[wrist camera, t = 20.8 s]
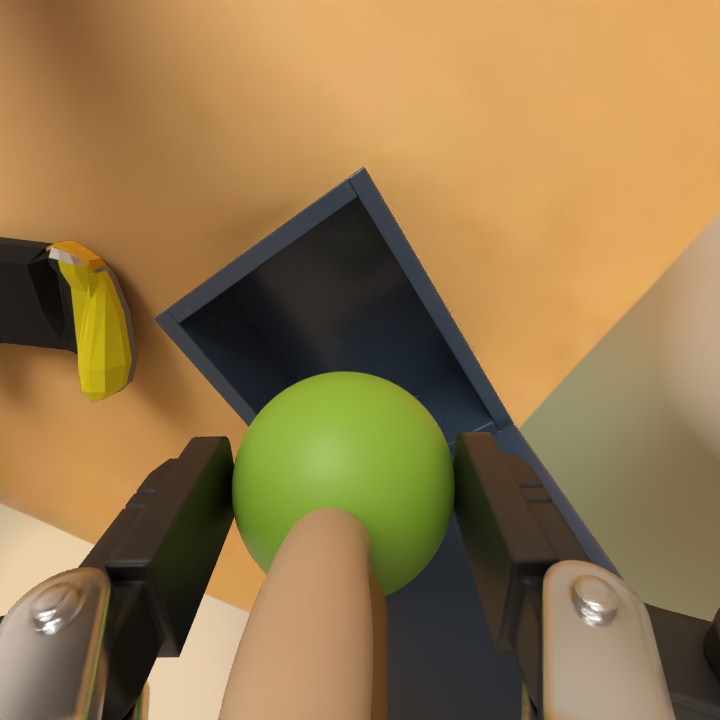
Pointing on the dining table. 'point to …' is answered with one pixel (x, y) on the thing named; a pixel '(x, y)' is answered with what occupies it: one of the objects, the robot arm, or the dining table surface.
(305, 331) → the compartment
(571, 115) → the dining table surface
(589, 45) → the dining table surface
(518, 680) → the lid
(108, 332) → the gaming controller
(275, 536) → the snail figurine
